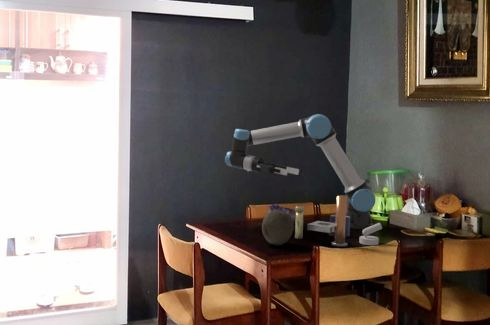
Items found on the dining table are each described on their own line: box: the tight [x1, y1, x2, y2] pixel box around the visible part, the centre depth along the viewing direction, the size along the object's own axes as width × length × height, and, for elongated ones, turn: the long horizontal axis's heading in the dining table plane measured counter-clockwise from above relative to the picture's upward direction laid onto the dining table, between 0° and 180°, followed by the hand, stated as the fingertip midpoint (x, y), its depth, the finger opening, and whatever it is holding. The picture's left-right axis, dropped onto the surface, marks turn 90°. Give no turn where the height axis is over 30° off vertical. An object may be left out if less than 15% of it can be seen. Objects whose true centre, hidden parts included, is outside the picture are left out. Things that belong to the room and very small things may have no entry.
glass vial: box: [294, 205, 305, 240], centre depth 277 cm, size 4×4×14 cm
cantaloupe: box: [261, 211, 295, 247], centre depth 262 cm, size 14×14×15 cm
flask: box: [328, 213, 351, 238], centre depth 285 cm, size 10×3×12 cm, turn 74°
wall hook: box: [358, 222, 383, 246], centre depth 271 cm, size 9×10×10 cm
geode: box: [267, 202, 296, 223], centre depth 319 cm, size 20×12×10 cm, turn 35°
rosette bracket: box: [306, 195, 348, 248], centre depth 267 cm, size 17×11×22 cm, turn 58°
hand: (293, 172), depth 285 cm, fingers open, 13 cm apart
